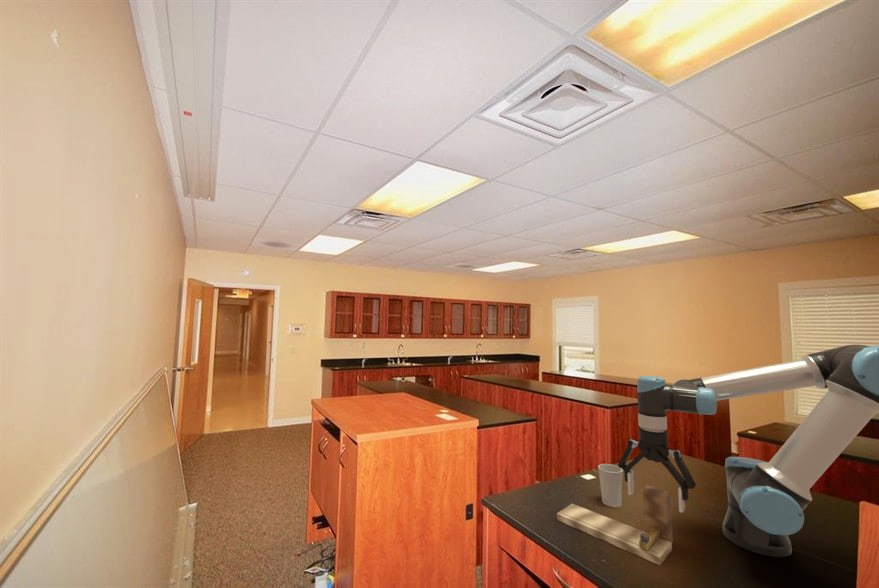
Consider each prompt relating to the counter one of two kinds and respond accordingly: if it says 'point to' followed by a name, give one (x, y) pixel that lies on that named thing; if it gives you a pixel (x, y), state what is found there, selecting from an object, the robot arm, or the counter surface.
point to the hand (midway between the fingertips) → (655, 502)
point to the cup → (611, 484)
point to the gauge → (656, 517)
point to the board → (614, 533)
